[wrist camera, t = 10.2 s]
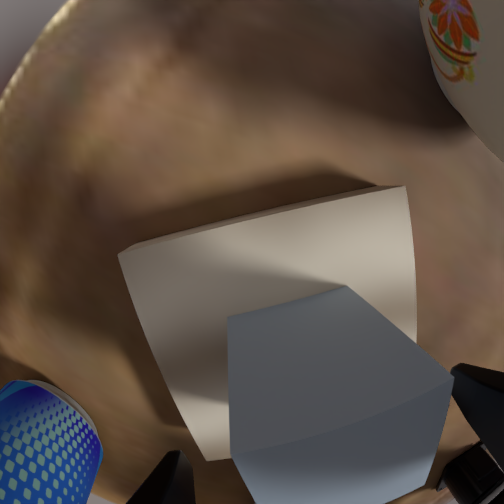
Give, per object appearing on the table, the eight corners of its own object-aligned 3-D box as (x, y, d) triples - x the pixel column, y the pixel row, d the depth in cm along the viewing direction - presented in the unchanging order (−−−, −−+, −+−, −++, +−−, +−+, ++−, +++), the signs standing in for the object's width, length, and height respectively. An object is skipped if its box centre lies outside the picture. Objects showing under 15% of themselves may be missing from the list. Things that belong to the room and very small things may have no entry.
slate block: (356, 379, 13) (424, 484, 6) (255, 408, 13) (275, 535, 6) (347, 285, 12) (454, 377, 5) (227, 316, 12) (229, 454, 5)
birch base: (393, 380, 16) (411, 402, 14) (207, 432, 16) (206, 461, 13) (378, 185, 14) (405, 185, 11) (135, 243, 13) (117, 254, 11)
